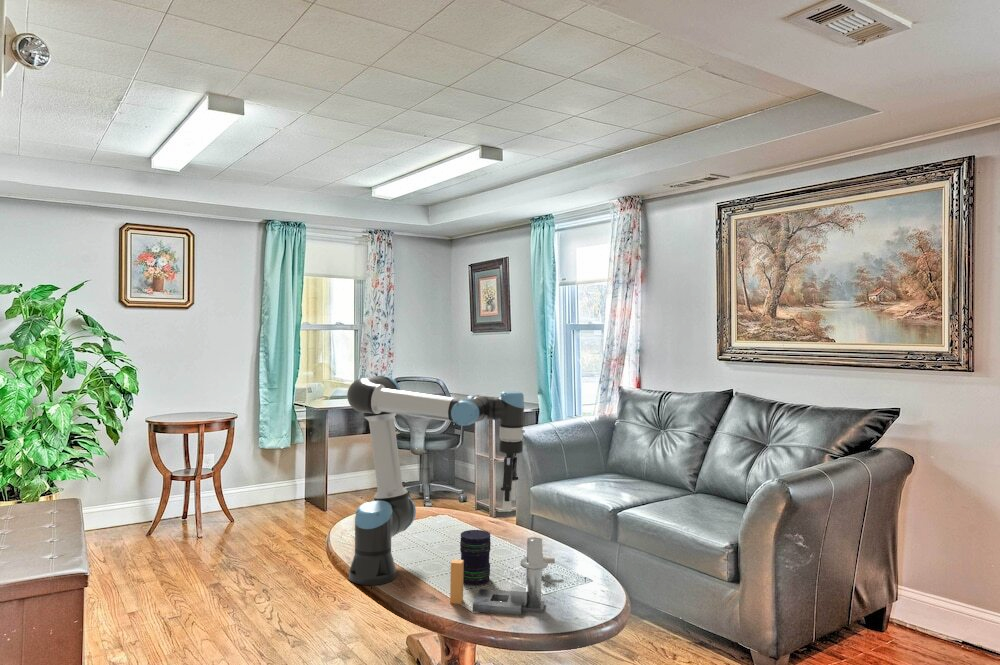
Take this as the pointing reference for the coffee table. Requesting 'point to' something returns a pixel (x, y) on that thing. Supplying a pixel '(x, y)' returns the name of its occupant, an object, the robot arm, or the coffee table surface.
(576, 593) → the coffee table surface
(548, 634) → the coffee table surface
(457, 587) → the tan rectangular block
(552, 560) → the pipe connector
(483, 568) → the storage jar
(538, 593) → the rosette node
